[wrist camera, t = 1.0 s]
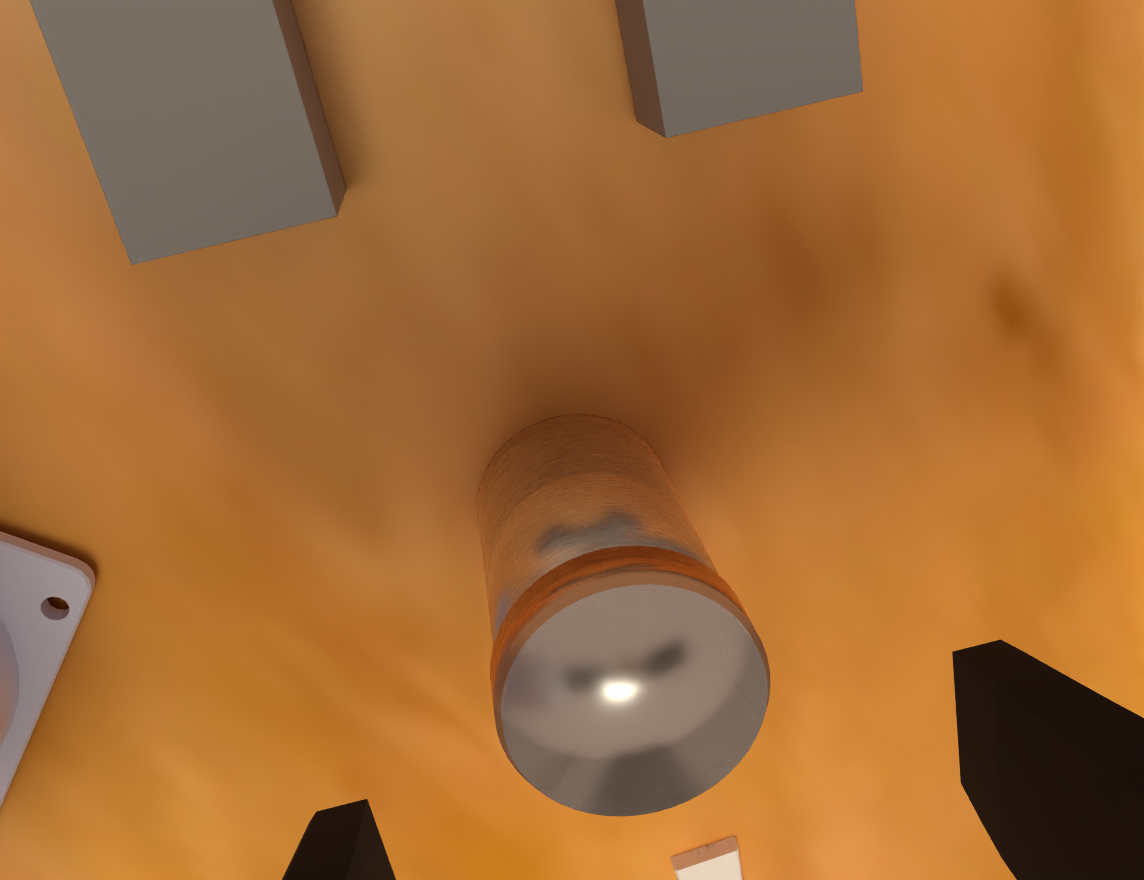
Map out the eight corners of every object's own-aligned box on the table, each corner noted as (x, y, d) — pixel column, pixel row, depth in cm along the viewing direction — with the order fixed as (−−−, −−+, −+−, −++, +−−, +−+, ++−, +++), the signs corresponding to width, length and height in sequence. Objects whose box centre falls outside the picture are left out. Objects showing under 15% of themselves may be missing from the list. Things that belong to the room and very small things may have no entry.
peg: (613, 618, 23) (686, 851, 17) (438, 549, 22) (447, 773, 16) (708, 459, 22) (826, 645, 16) (530, 377, 21) (579, 542, 15)
